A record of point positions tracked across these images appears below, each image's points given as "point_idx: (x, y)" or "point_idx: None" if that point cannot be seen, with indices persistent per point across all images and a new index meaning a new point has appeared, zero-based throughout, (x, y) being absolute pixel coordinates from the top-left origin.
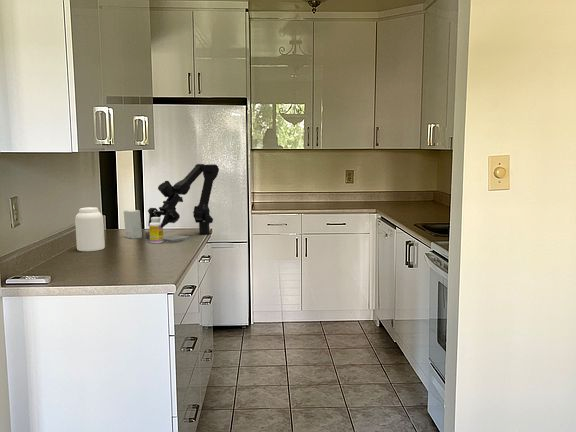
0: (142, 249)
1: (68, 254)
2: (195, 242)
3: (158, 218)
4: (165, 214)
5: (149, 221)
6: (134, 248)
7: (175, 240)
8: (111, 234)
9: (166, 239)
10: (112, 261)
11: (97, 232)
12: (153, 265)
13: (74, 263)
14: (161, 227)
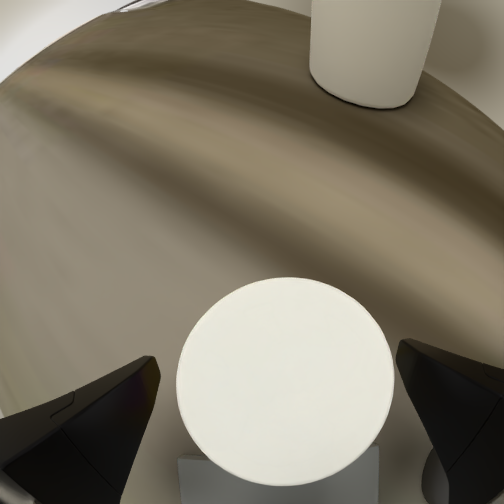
0: (158, 177)
1: None
2: None
3: (179, 378)
4: (17, 445)
5: (436, 354)
6: (221, 166)
7: (181, 482)
8: None
9: None
10: (116, 63)
11: (312, 9)
12: (10, 117)
13: (188, 22)
14: (153, 367)
